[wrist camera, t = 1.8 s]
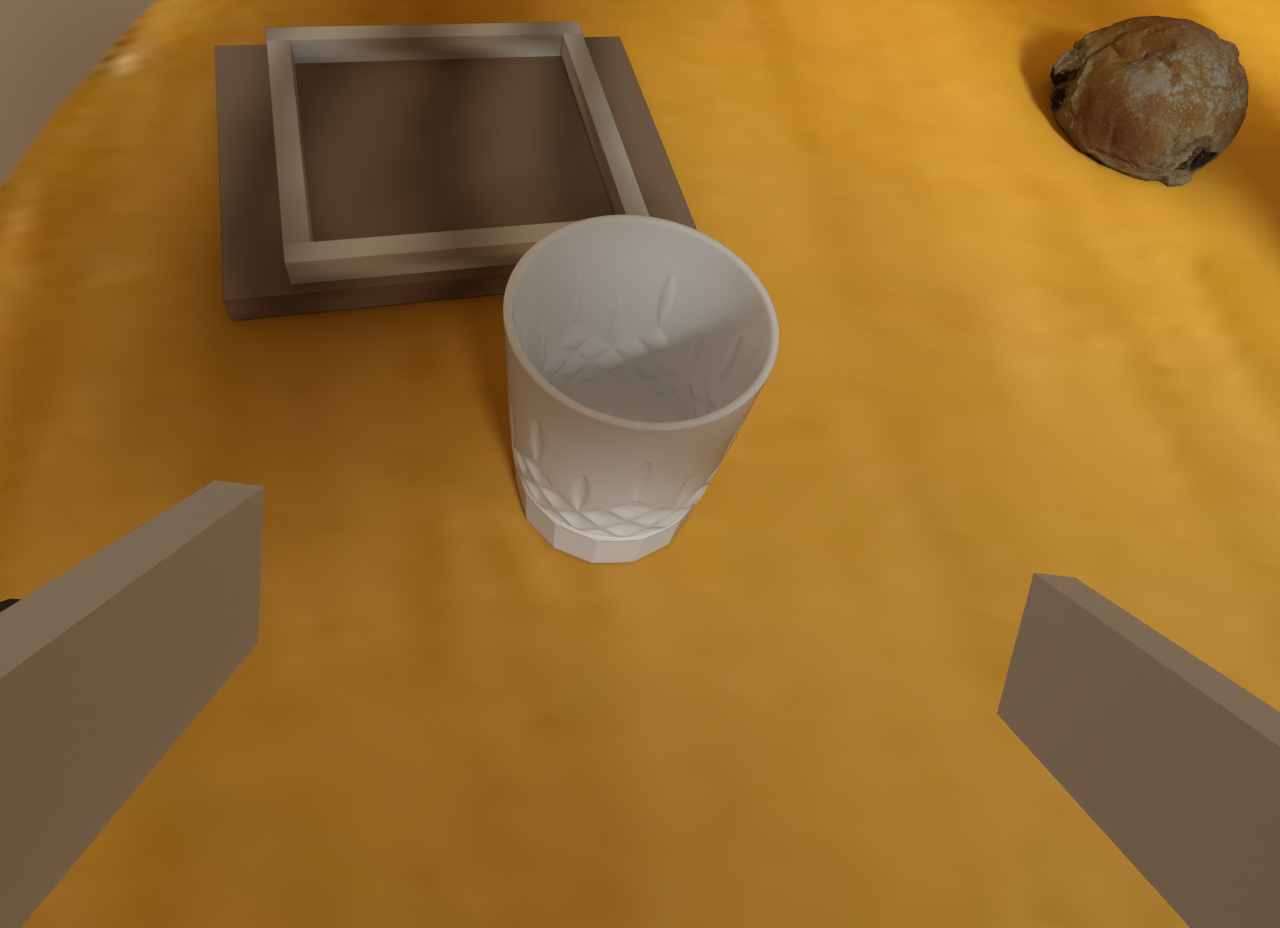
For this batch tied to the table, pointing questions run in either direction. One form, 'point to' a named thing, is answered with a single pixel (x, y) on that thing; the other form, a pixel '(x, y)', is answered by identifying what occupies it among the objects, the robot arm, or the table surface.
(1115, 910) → the table surface
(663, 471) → the white cup
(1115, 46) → the bread roll
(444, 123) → the keeper board
